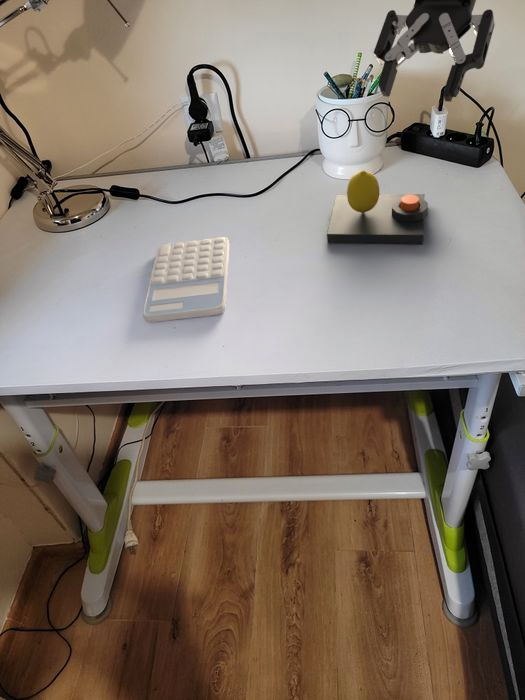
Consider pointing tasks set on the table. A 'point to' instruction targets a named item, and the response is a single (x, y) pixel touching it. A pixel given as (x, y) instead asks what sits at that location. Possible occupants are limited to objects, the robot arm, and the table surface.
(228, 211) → the table surface
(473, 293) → the table surface
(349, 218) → the scale
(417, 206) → the button
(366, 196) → the lemon
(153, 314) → the calculator
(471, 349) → the table surface
